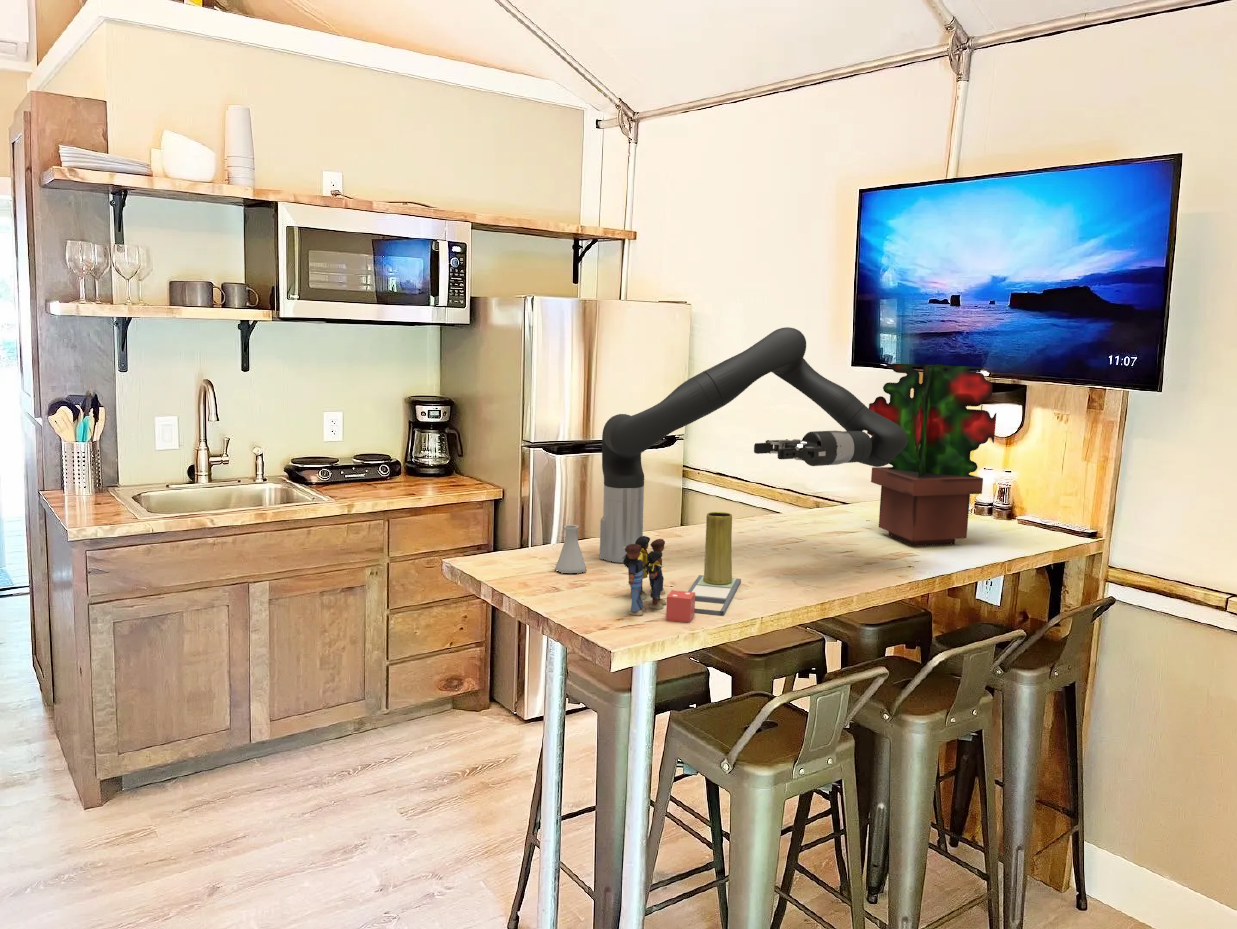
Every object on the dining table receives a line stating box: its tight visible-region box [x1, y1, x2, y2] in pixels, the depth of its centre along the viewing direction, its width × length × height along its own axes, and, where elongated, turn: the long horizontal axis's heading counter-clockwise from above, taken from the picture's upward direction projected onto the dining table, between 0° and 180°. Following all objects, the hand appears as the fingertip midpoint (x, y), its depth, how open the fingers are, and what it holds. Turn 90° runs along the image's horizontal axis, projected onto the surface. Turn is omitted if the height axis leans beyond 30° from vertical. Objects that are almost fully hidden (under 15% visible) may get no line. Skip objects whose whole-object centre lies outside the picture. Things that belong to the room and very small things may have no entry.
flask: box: [554, 524, 587, 574], centre depth 210 cm, size 7×7×10 cm
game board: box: [687, 574, 742, 617], centre depth 194 cm, size 9×24×1 cm, turn 165°
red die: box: [665, 590, 696, 623], centre depth 179 cm, size 4×4×5 cm
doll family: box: [622, 535, 667, 617], centre depth 188 cm, size 23×9×13 cm, turn 1°
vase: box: [703, 511, 733, 585], centre depth 201 cm, size 6×6×14 cm
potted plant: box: [866, 362, 997, 547], centre depth 245 cm, size 22×22×45 cm
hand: (766, 451), depth 203 cm, fingers open, 8 cm apart
